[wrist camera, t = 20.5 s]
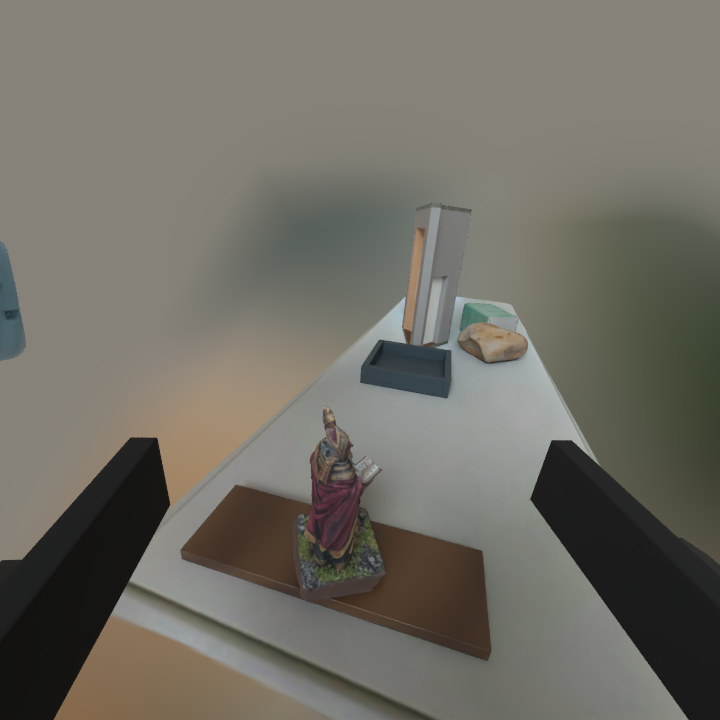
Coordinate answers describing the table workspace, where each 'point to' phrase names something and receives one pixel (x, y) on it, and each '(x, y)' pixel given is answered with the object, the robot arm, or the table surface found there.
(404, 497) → the table surface
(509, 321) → the box
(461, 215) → the cabinet
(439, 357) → the dark grey square tray
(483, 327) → the stone
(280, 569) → the board
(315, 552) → the figurine
